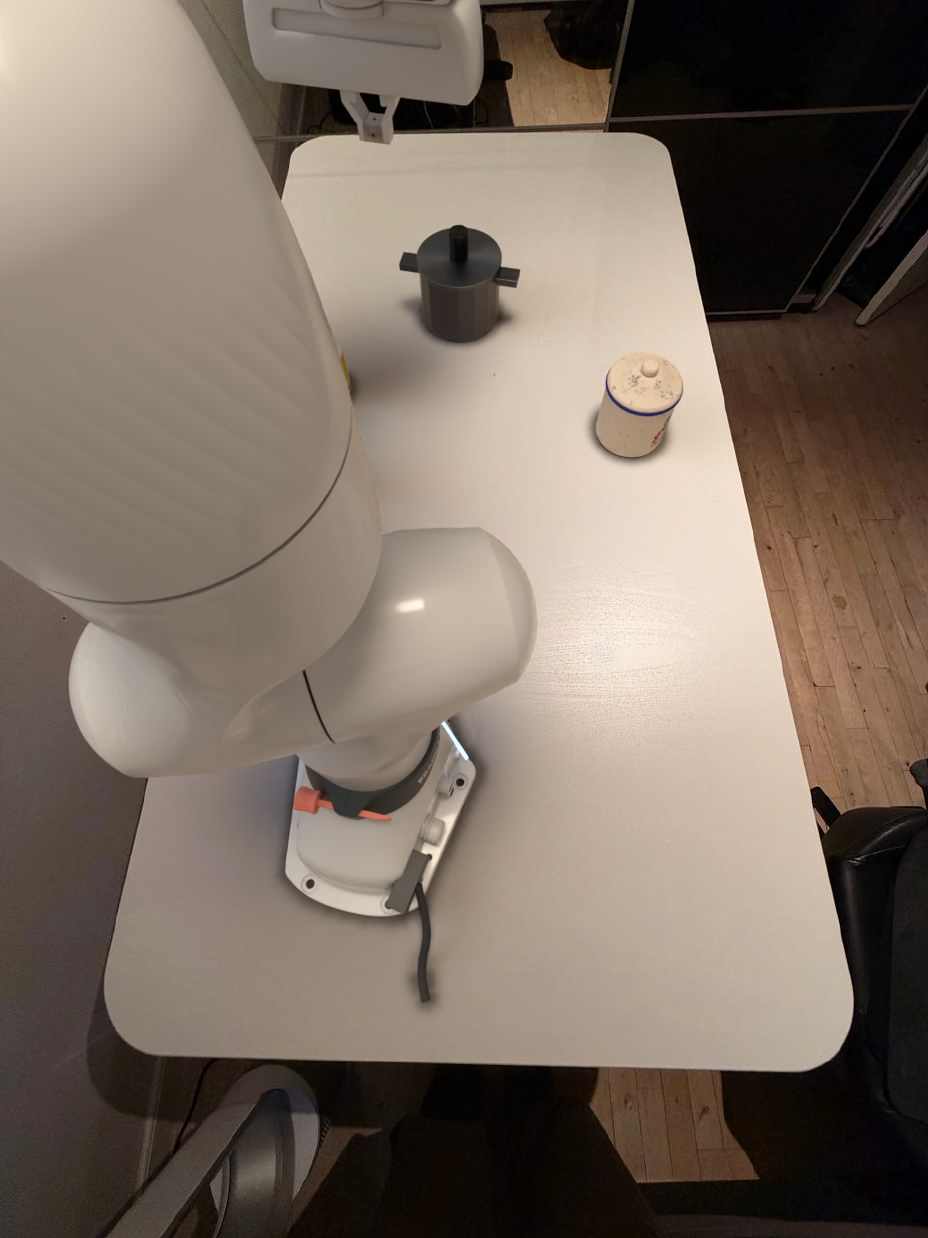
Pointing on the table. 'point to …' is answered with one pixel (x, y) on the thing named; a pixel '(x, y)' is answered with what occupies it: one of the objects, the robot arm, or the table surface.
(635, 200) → the table surface
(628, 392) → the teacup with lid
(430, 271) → the lid
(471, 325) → the pot
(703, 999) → the table surface
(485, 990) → the table surface
